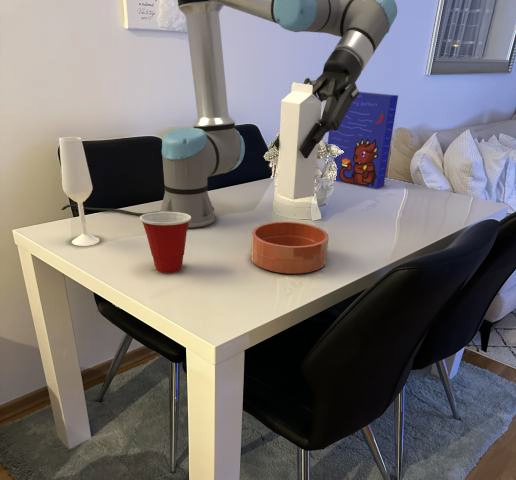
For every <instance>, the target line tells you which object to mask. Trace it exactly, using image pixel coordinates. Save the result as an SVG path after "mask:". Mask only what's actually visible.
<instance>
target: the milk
mask: <svg viewBox="0 0 516 480" xmlns="http://www.w3.org/2000/svg"><path fill="white" fill-rule="evenodd" d="M312 91H313V86H312V85H308V84H303V83H299V82H293V84H292V91H291V92H289V93H288V94H287V95H286V96H285V97H283V98H282V99H281V101H280V120H279V134H280V137H279V151H278V159H277V175H276V176H277V178H276V194H277V195H280V196H282V197H285V198H288V199H290V200H293V201H294V200H299V199H305V198H310V197H314V196H315V187H316V175H317V165H318V155H319V153H318V152H319V144H316V146H315V147H314V149H313V150H312V152H311V153H310V155H309V157H308V158H304V156H303V155H302V153H301V152H300V150H299V149H300V147H301V145H302V144H303V142H304V141H305V139H306V138H307V136H308V135H309V133H310V131H311V130H312V128H313V127H314V125H315V124H316V123H318V124H319V125H321V124H320V122H319V120H320V119H321V118H322V109H323V102H321V101H320V100H319V99H318V98H319V97H318V98H316V97H315V96H314V95H313V94H312Z"/></svg>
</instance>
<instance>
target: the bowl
mask: <svg viewBox="0 0 516 480" xmlns="http://www.w3.org/2000/svg"><path fill="white" fill-rule="evenodd" d="M329 240H330V239H329V233H328V232H327V231H326V230H324V229H323V228H321V227H319V226H316V225H312V224H309V223H304V222H298V221H274V222H273V221H272V222H266V223H263V224H260V225H258V226H255V228H253V229H252V230H251V246H250V247H251V248H250V259H251V261H252V263H253V264H255V265H256V267H257V266H258V267H259V268H261V269H264V270H267V271H270V272H273V273H274V272H275V273H278V274H287V275H288V274H289V275H290V274H291V275H292V274H293V275H294V274H295V275H297V274H307V273H312V272H315V271H318V270H320V269H322V268H323V267H324V266H325V265H326V263H327V256H328V248H329Z"/></svg>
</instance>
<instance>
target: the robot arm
mask: <svg viewBox="0 0 516 480" xmlns="http://www.w3.org/2000/svg"><path fill="white" fill-rule="evenodd" d="M177 6H178V7H177V8H178V10H179V11H180V12H181V13H182V14H183V15H184V16H185V23H186V31H187V40H188V47H189V56H190V64H191V73H192V82H193V89H194V97H195V98H194V99H195V106H196V115H197V119H196V121H194V123H193V125H192V126H193V127H185V128H178V129H173V130H170V131H168V132H166V133H165V134H164V135H163V137H162V139H161V156H162V170H163V183H164V195H163V199H162V203H161V207H160V210H156V211H148V212H134V211H129V210H126V209H118V208H105V207H104V208H102V207H101V208H99V207H86V206H83V209H84V211H90V212H91V211H95V212H116V213H117V212H118V213H123V214H129V215H132V216H139V217H140V216H142V215H143V214H148V213H153V212H179V213H185V214H188V215H190V216H191V220H190V221H189V224H188V229H197V228H203V227H207V226H210V225H211V224H213V223H214V222H215V208H214V207H213V204H212V201H211V199H210V196H209V192H208V178H210V177H213V176H218V175H221V174H227V173H230V172H231V171H233V170H235V169H236V168H238V167H239V166H240V164H241V163H242V161H243V160H244V156H245V152H246V151H245V149H246V145H245V141H244V138H243V136H242V135H241V134H240V132H239V130H237V129H236V122H235V120H234V119H233V118H232V117H231V116H230V115H229V107H228V106H229V105H228V95H227V86H226V75H225V64H224V53H223V42H222V41H223V40H222V32H221V22H220V12H221V11H222V9H223V7H228V8H231V9H233V10H237V11H239V12H242V13H245V14H249V15H250V16H255V17H257V18H260V19H262V20H266V21H268V22H271V23H274V24H277V25H279V26H280V28H282V29H284V30H286V31H289V32H294V33H299V32H300V33H301V32H304V33H306V32H307V33H319V34H320V33H321V34H328V35H333V36H335V37H338V38H339V37H340V40H338V42H337V44H336V45H335V47H334V49H333V51H332V52H331V53H330V55H329V56H328V58H327V60H326V61H325V62H324V64H323V69H322V73H321V74H320V75H319V76H318V77H317V78H316V79H314V80H311V78H310V77H306V78H305V79H304V81H303V83H302V84H308V85H312V86H313V91H312V94H313V95H314V96H315V97H316V98H318V99H319V100H320V101H321V102H322V103H323V102H324V101H325V104H324V108H323V112H322V113H321V119H320V120H319V122H320V125H319V124H318V123H316V124H315V125H314V127H313V128H312V130H311V131H310V133H309V135H308V136H307V138H306V139H305V141H304V142H303V144H302V145H301V147H300V149H299V150H300V152H301V153H302V155H303V156H304V158H308V157H309V155H310V153H311V152H312V150H313V149H314V147H315V146H316V144H318V145H319V144H320V143H321V141H322V140H323V138H324V137H325V135H326V134H327V133H329V130H333V131H337V130H338V128H339V126H340V124H341V123H342V121H343V119H344V117H345V115H346V113H347V111H348V109H349V108H350V106H351V104H352V102H353V101H354V100H355V98H356V97H357V96H358V95H359V92H360V91H359V89H358V86H357V84H356V82H357V80H358V79H359V77H360V76H361V74H362V72H363V71H364V69H365V68H366V66H367V65H368V63H369V62H370V60H371V58H372V57H373V55H374V53H375V52H376V50H377V49H378V48H379V45H380V44H381V43H382V41H383V39H384V38H385V37H386V35H387V34H388V33H389V32H390V29H391V27H392V25H393V24H394V22H395V20H396V18H397V16H398V6H397V2H396V0H177ZM341 96H342V97H341ZM340 97H341V99H340ZM279 137H280V133H279V134H278V136H277V137H276V139H275V141H273V143H272V144H273V145H274V147H275V148H276V150H277V151H278V152H279ZM68 208H77V209H78V204H66V205H64V206H62V208H61V209H60V210H61V211H64V210H66V209H68Z"/></svg>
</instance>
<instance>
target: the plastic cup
mask: <svg viewBox="0 0 516 480" xmlns="http://www.w3.org/2000/svg"><path fill="white" fill-rule="evenodd" d="M152 212H153V213H148V212H147V213H148V214H143V215H142V216H139V220H140V222H141V223H142V225H143V229H144V232H145V234H146V238H147V242H148V245H149V249H150V253H151V254H150V255H151V256H152V259H153V263H154V264H153V265H154V268H155V270H156V271H157V272H159V273H163V274H173V273H177V272H179V271H181V270H182V269H183V268H182V267H183V263H184V255H185V249H186V240H187V233H188V229H189V228H188V224H189V221H190V220H191V216H190V215H188V214H185V213H179V212H155V211H152Z"/></svg>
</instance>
